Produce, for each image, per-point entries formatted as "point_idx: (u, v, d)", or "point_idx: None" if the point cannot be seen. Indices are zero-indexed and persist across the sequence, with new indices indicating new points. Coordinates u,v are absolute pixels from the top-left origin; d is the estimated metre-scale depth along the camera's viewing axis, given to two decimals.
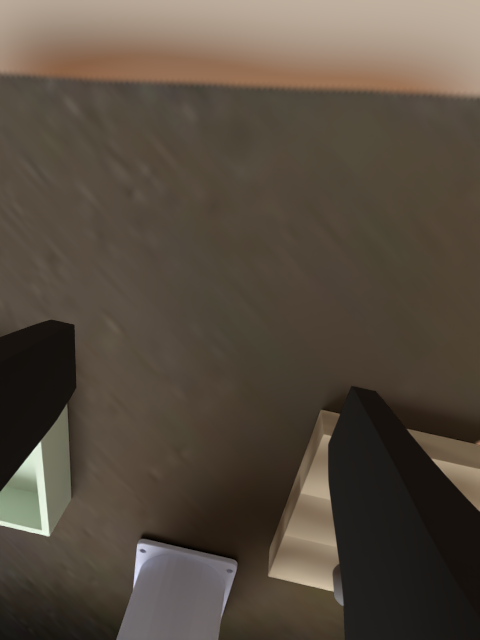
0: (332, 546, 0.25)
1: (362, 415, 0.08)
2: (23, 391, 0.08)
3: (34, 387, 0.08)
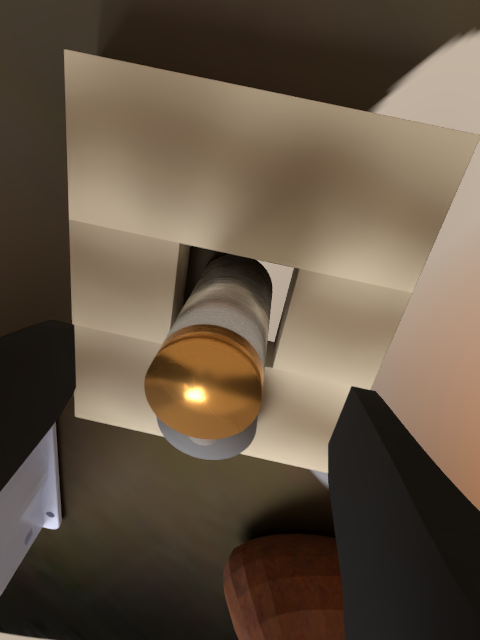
0: (151, 341, 0.15)
1: (362, 415, 0.08)
2: (24, 391, 0.08)
3: (34, 387, 0.08)
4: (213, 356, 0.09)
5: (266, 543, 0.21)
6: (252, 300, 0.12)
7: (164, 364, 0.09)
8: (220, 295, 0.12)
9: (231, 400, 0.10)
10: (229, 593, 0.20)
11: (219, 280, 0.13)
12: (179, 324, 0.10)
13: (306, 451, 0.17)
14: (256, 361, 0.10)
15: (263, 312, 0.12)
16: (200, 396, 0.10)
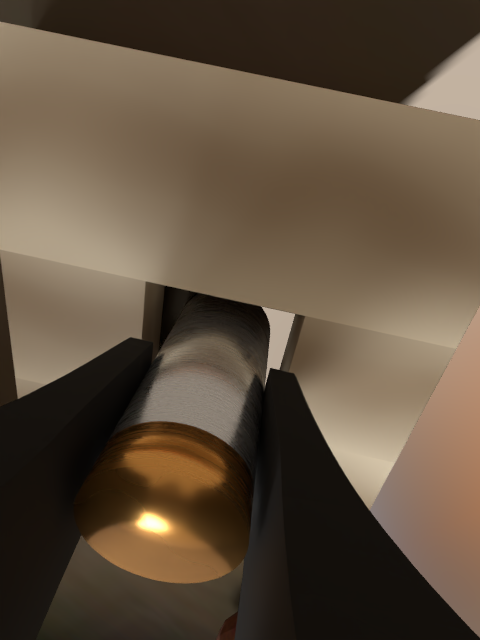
0: None
1: (269, 394, 0.08)
2: (117, 412, 0.08)
3: (124, 407, 0.08)
4: (173, 485, 0.06)
5: None
6: (240, 365, 0.09)
7: (100, 491, 0.06)
8: (195, 362, 0.08)
9: (203, 540, 0.06)
10: None
11: (198, 333, 0.09)
12: (131, 414, 0.07)
13: None
14: (242, 478, 0.07)
15: (256, 379, 0.09)
16: (157, 532, 0.06)
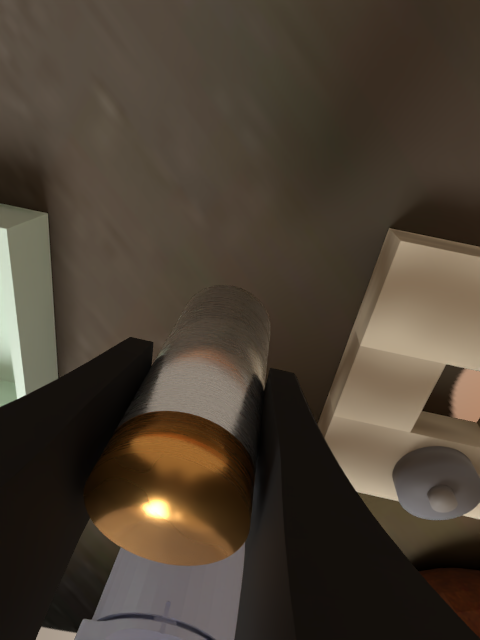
0: (396, 429, 0.19)
1: (269, 394, 0.08)
2: (117, 412, 0.08)
3: (124, 407, 0.08)
4: (169, 467, 0.06)
5: (439, 578, 0.25)
6: (235, 354, 0.09)
7: (104, 480, 0.07)
8: (189, 356, 0.09)
9: (207, 519, 0.07)
10: None
11: (193, 329, 0.10)
12: (131, 409, 0.08)
13: None
14: (238, 458, 0.07)
15: (253, 366, 0.09)
16: (164, 516, 0.07)
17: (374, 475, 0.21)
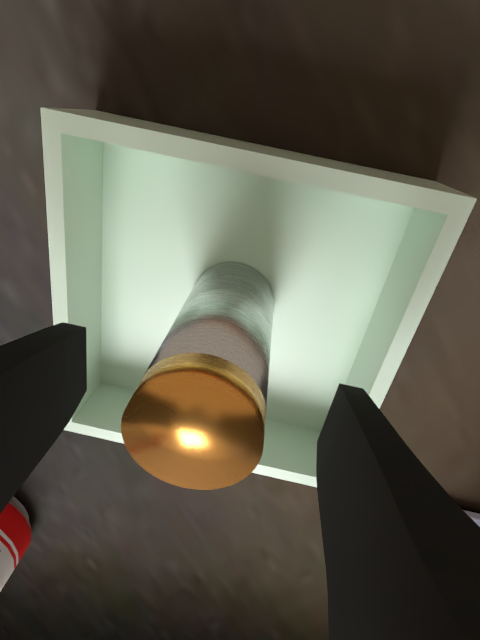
0: None
1: (348, 412, 0.08)
2: (38, 395, 0.08)
3: (47, 390, 0.08)
4: (204, 395, 0.07)
5: None
6: (251, 319, 0.10)
7: (144, 404, 0.08)
8: (214, 314, 0.10)
9: (226, 446, 0.08)
10: None
11: (214, 294, 0.11)
12: (164, 351, 0.09)
13: None
14: (257, 398, 0.08)
15: (264, 332, 0.11)
16: (189, 441, 0.08)
17: None
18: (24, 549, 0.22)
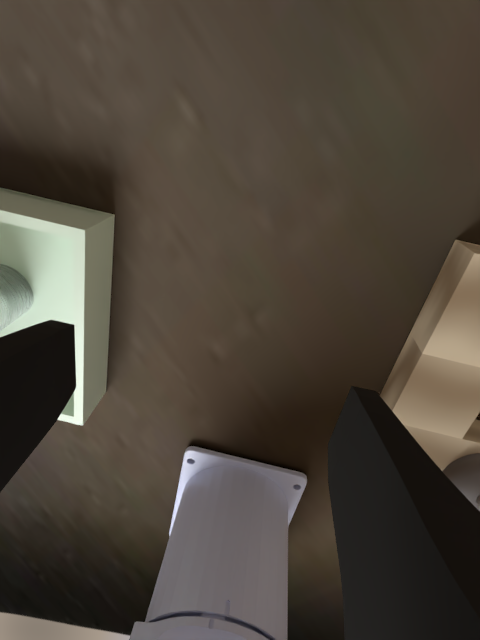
0: (448, 435, 0.20)
1: (362, 415, 0.08)
2: (24, 391, 0.08)
3: (34, 387, 0.08)
4: None
5: None
6: None
7: None
8: None
9: None
10: None
11: None
12: None
13: None
14: None
15: None
16: None
17: None
18: None
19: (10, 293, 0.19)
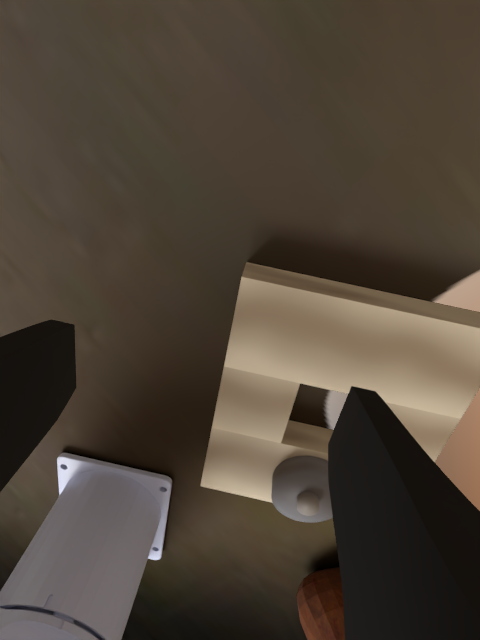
0: (269, 440, 0.21)
1: (362, 415, 0.08)
2: (24, 391, 0.08)
3: (34, 387, 0.08)
4: None
5: (333, 576, 0.27)
6: None
7: None
8: None
9: None
10: (305, 615, 0.26)
11: None
12: None
13: None
14: None
15: None
16: None
17: (257, 481, 0.23)
18: None
19: None
